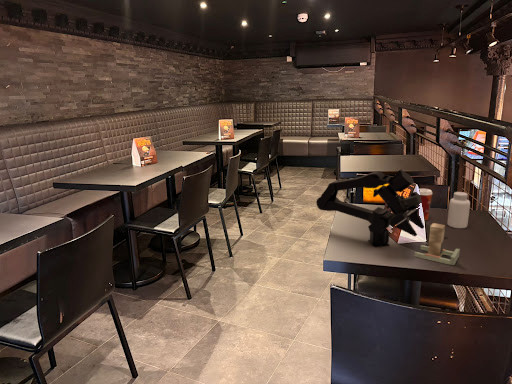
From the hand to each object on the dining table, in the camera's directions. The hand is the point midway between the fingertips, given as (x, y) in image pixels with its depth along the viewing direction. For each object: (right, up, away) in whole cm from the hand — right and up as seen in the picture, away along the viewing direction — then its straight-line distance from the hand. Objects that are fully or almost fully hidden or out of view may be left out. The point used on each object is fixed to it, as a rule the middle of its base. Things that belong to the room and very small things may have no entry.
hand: (419, 231), depth 138 cm
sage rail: (+5, -9, -1) cm, 10 cm away
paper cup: (+18, +2, +38) cm, 42 cm away
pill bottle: (+29, 0, +27) cm, 40 cm away
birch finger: (+5, -9, -1) cm, 10 cm away
